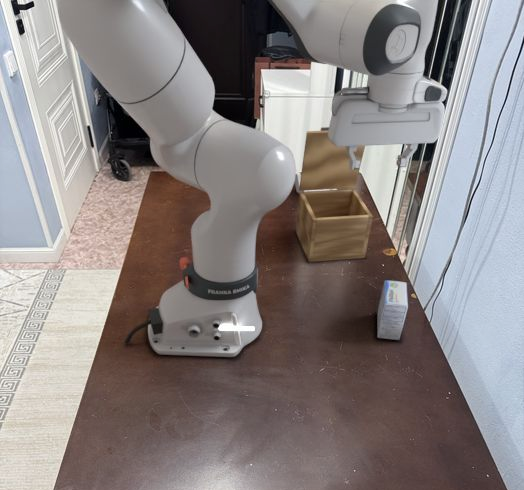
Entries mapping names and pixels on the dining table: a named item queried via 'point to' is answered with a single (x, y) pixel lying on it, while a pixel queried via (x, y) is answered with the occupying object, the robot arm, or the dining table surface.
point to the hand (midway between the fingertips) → (377, 167)
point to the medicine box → (392, 310)
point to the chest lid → (327, 163)
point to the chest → (333, 225)
